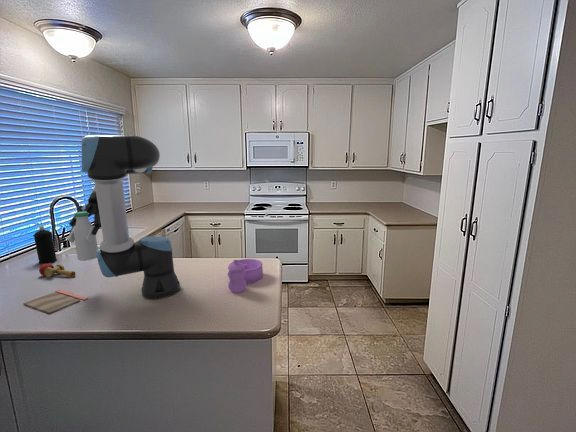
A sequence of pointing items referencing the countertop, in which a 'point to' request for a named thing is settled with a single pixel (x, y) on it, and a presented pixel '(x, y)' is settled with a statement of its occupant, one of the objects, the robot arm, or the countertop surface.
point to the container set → (244, 273)
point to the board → (51, 302)
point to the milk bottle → (80, 233)
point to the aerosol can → (45, 246)
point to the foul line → (71, 295)
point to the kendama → (55, 270)
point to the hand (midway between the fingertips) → (79, 241)
